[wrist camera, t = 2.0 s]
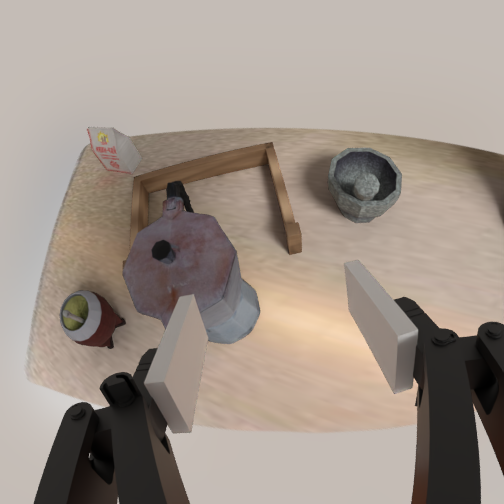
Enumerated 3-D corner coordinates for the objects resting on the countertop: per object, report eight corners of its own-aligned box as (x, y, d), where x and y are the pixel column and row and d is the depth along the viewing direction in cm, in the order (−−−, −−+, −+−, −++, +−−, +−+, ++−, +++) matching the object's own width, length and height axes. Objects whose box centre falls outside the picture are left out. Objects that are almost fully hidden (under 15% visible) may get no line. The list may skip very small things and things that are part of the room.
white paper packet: (116, 155, 56) (93, 120, 47) (142, 158, 54) (119, 120, 45) (106, 170, 54) (81, 135, 45) (132, 174, 53) (107, 136, 44)
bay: (301, 252, 41) (301, 233, 37) (139, 285, 43) (122, 272, 38) (275, 156, 49) (272, 134, 45) (141, 189, 50) (128, 171, 46)
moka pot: (197, 374, 36) (105, 349, 18) (180, 263, 43) (108, 172, 25) (273, 358, 36) (246, 320, 18) (247, 245, 43) (210, 138, 25)
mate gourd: (86, 312, 42) (17, 275, 29) (128, 295, 42) (64, 249, 29) (93, 360, 39) (18, 336, 25) (139, 345, 39) (68, 315, 26)
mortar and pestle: (333, 172, 46) (337, 112, 35) (392, 185, 44) (410, 128, 33) (318, 235, 42) (322, 179, 31) (385, 250, 40) (410, 199, 29)
